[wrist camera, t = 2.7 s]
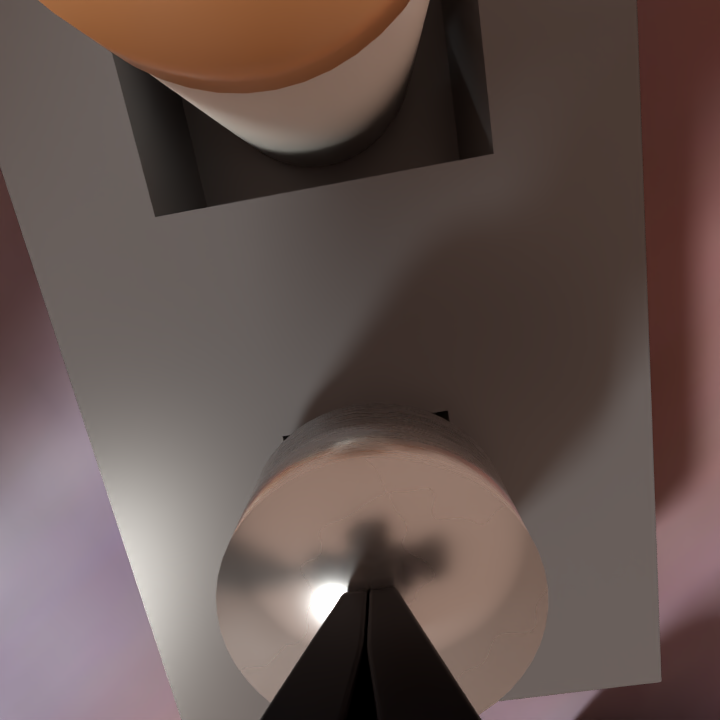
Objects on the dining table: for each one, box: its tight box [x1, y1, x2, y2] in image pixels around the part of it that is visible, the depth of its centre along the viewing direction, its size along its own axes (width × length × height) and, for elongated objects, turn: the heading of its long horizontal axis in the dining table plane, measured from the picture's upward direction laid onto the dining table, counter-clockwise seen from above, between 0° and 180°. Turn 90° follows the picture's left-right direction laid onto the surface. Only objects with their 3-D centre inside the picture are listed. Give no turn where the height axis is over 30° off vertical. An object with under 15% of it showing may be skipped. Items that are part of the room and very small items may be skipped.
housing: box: [0, 0, 661, 720], centre depth 12 cm, size 12×22×4 cm, turn 10°
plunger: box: [216, 403, 548, 715], centre depth 11 cm, size 5×5×7 cm
